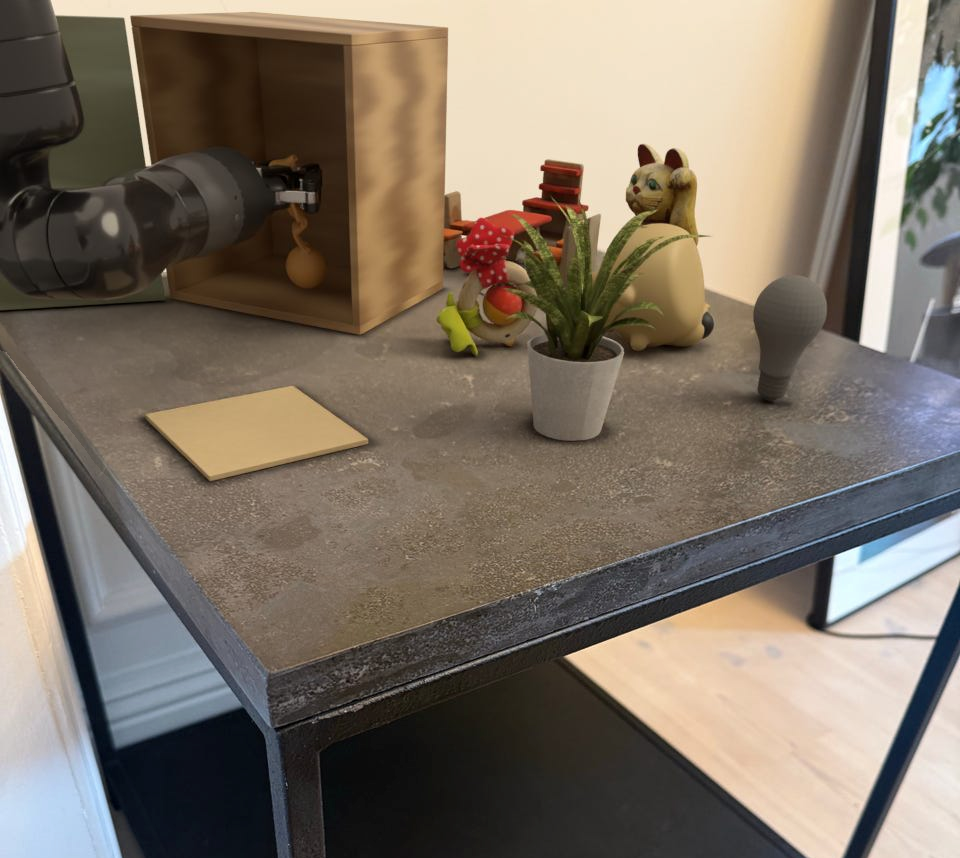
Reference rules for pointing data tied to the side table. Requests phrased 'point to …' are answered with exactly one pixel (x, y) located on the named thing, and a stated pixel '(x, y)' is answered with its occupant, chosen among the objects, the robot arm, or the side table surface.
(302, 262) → the figurine
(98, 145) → the dark green flat panel
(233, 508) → the side table surface
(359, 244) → the cupboard
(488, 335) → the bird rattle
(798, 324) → the light bulb
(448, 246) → the dollhouse furniture set
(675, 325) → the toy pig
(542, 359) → the house plant
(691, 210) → the decorative figurine
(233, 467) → the mat
